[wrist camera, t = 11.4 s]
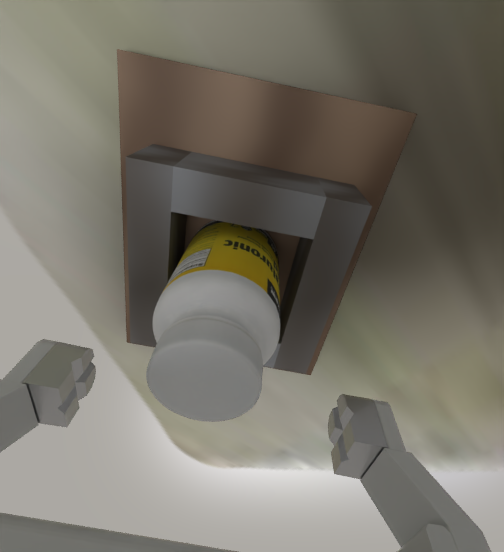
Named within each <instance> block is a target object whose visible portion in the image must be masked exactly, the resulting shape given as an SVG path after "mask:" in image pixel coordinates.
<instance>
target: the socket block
mask: <svg viewBox="0 0 504 552" xmlns="http://www.w3.org/2000/svg"><path fill="white" fill-rule="evenodd" d="M117 59H118V89H119V119H120V149H121V179H122V210H123V240H124V270H125V300H126V330H127V342H128V343H133V344H139V345H145V346H150V347H156V345H157V342H156V340H155V337H154V333H153V314H154V310H155V307H156V305H157V302H158V300H159V298H160V296H161V294H162V292H163V290H164V289H165V287H166V285H167V283H168V281H169V280H170V278H171V276H172V274H173V272H174V271H175V269H176V267H177V265H178V263H179V262H180V260H181V258H182V256H183V254H184V253H185V251H186V249H187V247H188V245H189V244H190V242H191V240H192V238H193V237H194V236H195V234H196V233H197V232H198V231H199V230H200V229H201V228H202V227H203V226H204V225H206V224H207V223H209V222H211V221H213V220H217V221H222V222H227V223H232V224H237V225H242V226H247V227H252V228H258V229H263V230H265V231H266V232H267V233H268V234H269V236H270V237H271V238H272V240H273V242H274V244H275V246H276V249H277V253H278V260H279V295H280V336H279V341H278V344H277V347H276V350H275V351H274V353H273V355H272V356H271V358H270V359H269V360H268V361H267V362H266V363H265V364H264V365H263V367H268V368H274V369H279V370H285V371H291V372H296V373H302V374H307V375H311V373H312V371H313V368H314V366H315V363H316V361H317V358H318V356H319V354H320V351H321V349H322V346H323V344H324V341H325V339H326V336H327V334H328V331H329V329H330V327H331V324H332V322H333V319H334V317H335V314H336V312H337V309H338V307H339V304H340V302H341V300H342V297H343V295H344V292H345V290H346V287H347V285H348V282H349V280H350V277H351V275H352V273H353V270H354V268H355V265H356V263H357V260H358V258H359V255H360V253H361V250H362V248H363V246H364V243H365V241H366V238H367V236H368V233H369V231H370V228H371V226H372V223H373V221H374V219H375V216H376V214H377V211H378V209H379V206H380V204H381V201H382V199H383V196H384V194H385V192H386V189H387V187H388V184H389V182H390V179H391V177H392V174H393V172H394V169H395V167H396V165H397V162H398V160H399V157H400V155H401V152H402V150H403V147H404V145H405V143H406V140H407V138H408V135H409V133H410V130H411V128H412V125H413V123H414V120H415V118H416V116H417V114H416V113H411V112H407V111H402V110H397V109H393V108H388V107H383V106H379V105H374V104H370V103H365V102H360V101H356V100H351V99H346V98H342V97H337V96H332V95H328V94H323V93H318V92H314V91H309V90H304V89H300V88H295V87H291V86H286V85H281V84H277V83H272V82H267V81H263V80H258V79H253V78H249V77H244V76H239V75H235V74H230V73H225V72H221V71H216V70H212V69H207V68H202V67H198V66H193V65H188V64H184V63H179V62H174V61H170V60H165V59H160V58H156V57H151V56H146V55H142V54H137V53H133V52H128V51H123V50H119V49H117Z"/></svg>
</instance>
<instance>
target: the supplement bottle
mask: <svg viewBox="0 0 504 552" xmlns="http://www.w3.org/2000/svg"><path fill="white" fill-rule="evenodd" d="M153 333H154V337H155V340H156V342H157V345H156V347H155V349H154V352H153V354H152V357H151V359H150V361H149V364H148V367H147V374H146V377H147V383H148V386H149V388H150V390H151V392H152V393H153V395H154V397H155V398H156V399H157V400H158V401H159V402H160V403H161V404H162V405H164V406H165V407H166V408H168V409H169V410H171V411H173V412H175V413H177V414H179V415H181V416H184V417H187V418H190V419H194V420H199V421H211V422H213V421H225V420H230V419H233V418H236V417H238V416H240V415H242V414H244V413H246V412H247V411H248V410H250V409H251V408H252V407H253V406H254V405H255V403H256V402H257V400H258V398H259V396H260V393H261V387H262V372H263V365H264V364H265V363H266V362H267V361H268V360H269V359H270V358H271V356H272V355H273V353H274V351H275V350H276V347H277V344H278V341H279V336H280V295H279V260H278V253H277V249H276V246H275V244H274V242H273V240H272V238H271V237H270V236H269V234H268V233H267V232H266V231H265V230H263V229H258V228H252V227H247V226H242V225H237V224H232V223H227V222H222V221H217V220H213V221H211V222H209V223H207V224H206V225H204V226H203V227H202V228H201V229H200V230H199V231H198V232H197V233H196V234H195V236H194V237H193V238H192V240H191V242H190V244H189V245H188V247H187V249H186V251H185V253H184V254H183V256H182V258H181V260H180V262H179V263H178V265H177V267H176V269H175V271H174V272H173V274H172V276H171V278H170V280H169V281H168V283H167V285H166V287H165V289H164V290H163V292H162V294H161V296H160V298H159V300H158V302H157V305H156V307H155V310H154V314H153Z"/></svg>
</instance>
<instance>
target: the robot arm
mask: <svg viewBox="0 0 504 552" xmlns="http://www.w3.org/2000/svg"><path fill="white" fill-rule="evenodd" d="M93 357H94V354H93V350H92V349H90V348H85V347H80V346H76V345H71V344H66V343H61V342H56V341H51V340H45V339H43V340H41V341H39V342H37V343H36V345H34V347H33V348H32V349H31V350H30V351H29V352H28V353H27V354H26V355H25V356H24V357H23V358H22V360H20V362H19V363H18V364H17V365H16V366H15V367H14V368H13V369H12V370H11V371H10V372H9V373H8V374H7V375H6V377H5V378H4V379H3V380H1V379H0V452H1V451H3V450H4V449H6V448H7V447H8V446H10V445H11V444H12V443H14V442H15V441H17V440H18V439H19V438H21V437H22V436H23V435H25V434H26V433H28V432H29V431H30V430H32V429H33V428H35V427H36V426H38V423H41V424H48V425H55V426H62V427H68V425H69V424H70V422H71V420H72V418H73V417H74V416H75V414H76V412H77V410H78V409H79V403H78V400H80V399H82V398H83V397H85V396H87V394H88V393H89V391H90V389H91V388H92V385H93V382H94V379H95V374H96V369H95V366H94V364H93V363H92V362H91V360H92V359H93ZM337 405H338V407H336V408H334V409H332V411H331V413H330V416H329V421H328V434H329V439H330V440H331V442H332V443H333V444H334V448H333V450H332V451H331V455H332V462H333V469H334V474H337V475H342V476H348V477H352V478H358V479H361V483H362V484H363V486H364V488H365V489H366V491H367V492H368V494H369V496H370V497H371V499H372V500H373V502H374V504H375V505H376V507H377V509H378V510H379V512H380V514H381V515H382V517H383V518H384V520H385V522H386V523H387V525H388V526H389V528H390V530H391V531H392V533H393V535H394V536H395V538H396V539H397V541H398V543H399V544H400V546H401V548H400V549H399V550H398V551H397V552H491V550H490V548H489V546H488V544H487V541H486V539H485V537H484V535H483V532H482V531H481V530H480V529H479V527H478V526H477V525H476V524H475V523H474V522H473V521H472V520H471V519H470V517H469V516H468V515H467V514H466V513H465V512H464V511H463V510H462V509H461V507H460V506H459V505H457V503H456V502H455V501H454V500H453V499H452V498H451V496H450V495H449V494H448V493H447V492H446V491H445V490H444V489H443V488H442V486H441V485H440V484H439V483H438V482H437V481H436V480H435V479H434V478H433V476H431V474H430V473H429V472H428V471H427V470H426V469H425V468H424V467H423V465H422V464H421V463H420V462H419V461H418V460H417V459H416V458H415V457H414V455H413V454H412V453H410V452H406V449H405V446H404V444H403V441H402V438H401V435H400V432H399V429H398V427H397V424H396V421H395V418H394V415H393V412H392V410H391V407H390V405H389V404H388V402H383V401H378V400H371V399H368V398H362V397H356V396H350V395H345V394H342V395H340V396H339V398H338V399H337ZM0 552H237V551H231V550H225V549H218V548H212V547H206V546H200V545H194V544H188V543H182V542H176V541H170V540H164V539H158V538H152V537H145V536H139V535H133V534H127V533H121V532H115V531H109V530H103V529H97V528H90V527H85V526H79V525H72V524H66V523H60V522H54V521H48V520H42V519H36V518H30V517H24V516H17V515H12V514H5V513H0Z"/></svg>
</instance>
